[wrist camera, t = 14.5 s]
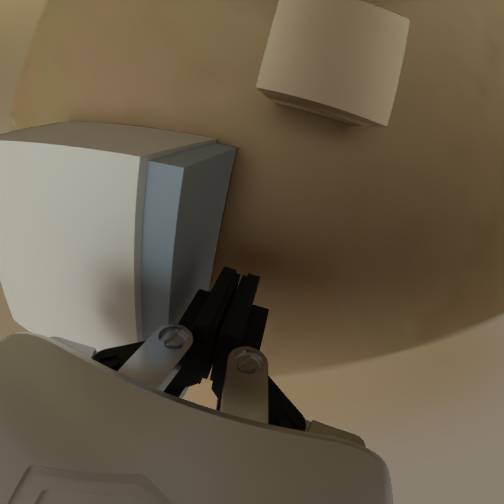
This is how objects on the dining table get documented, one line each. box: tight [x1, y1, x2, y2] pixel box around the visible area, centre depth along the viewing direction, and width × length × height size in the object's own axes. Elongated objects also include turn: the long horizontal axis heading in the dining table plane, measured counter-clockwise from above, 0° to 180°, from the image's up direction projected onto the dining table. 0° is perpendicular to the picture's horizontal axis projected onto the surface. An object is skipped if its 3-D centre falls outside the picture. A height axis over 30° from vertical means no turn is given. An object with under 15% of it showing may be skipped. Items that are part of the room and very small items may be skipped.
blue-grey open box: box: [141, 143, 237, 341], centre depth 13 cm, size 11×12×7 cm
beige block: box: [256, 0, 410, 127], centre depth 9 cm, size 4×4×6 cm
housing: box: [0, 121, 217, 351], centre depth 13 cm, size 11×12×8 cm
